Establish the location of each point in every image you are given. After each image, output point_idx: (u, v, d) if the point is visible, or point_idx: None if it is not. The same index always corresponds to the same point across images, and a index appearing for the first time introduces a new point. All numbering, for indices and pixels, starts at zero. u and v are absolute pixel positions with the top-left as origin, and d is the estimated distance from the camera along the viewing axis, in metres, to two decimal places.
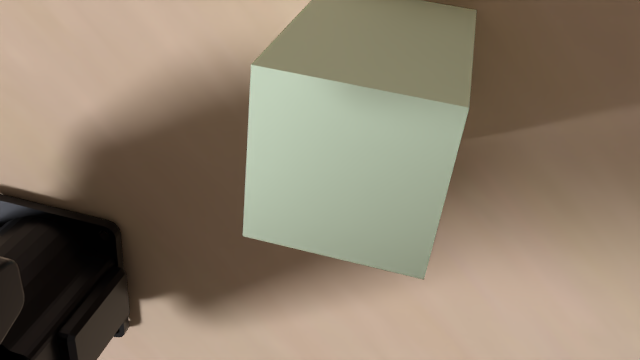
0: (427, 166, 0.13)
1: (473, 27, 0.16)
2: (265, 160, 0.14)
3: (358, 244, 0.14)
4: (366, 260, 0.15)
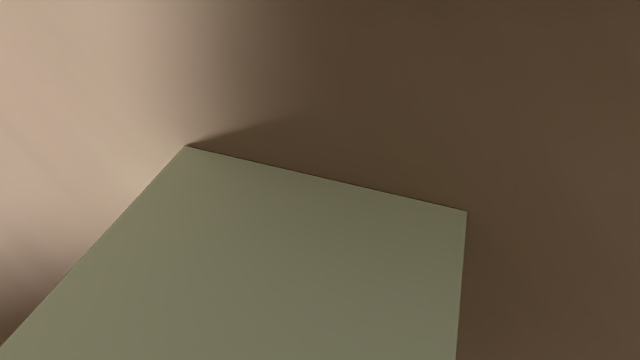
0: None
1: (457, 288, 0.08)
2: None
3: None
4: None
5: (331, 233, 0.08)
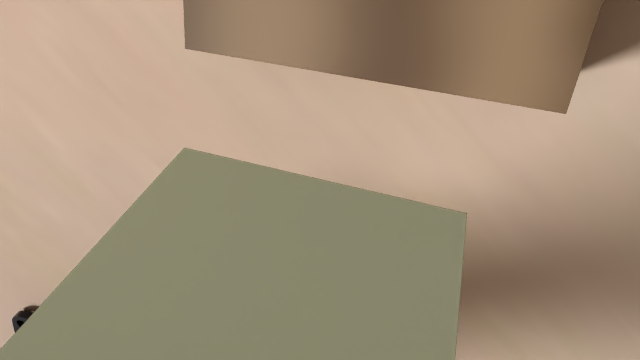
0: None
1: (456, 290, 0.08)
2: None
3: None
4: None
5: (331, 235, 0.08)
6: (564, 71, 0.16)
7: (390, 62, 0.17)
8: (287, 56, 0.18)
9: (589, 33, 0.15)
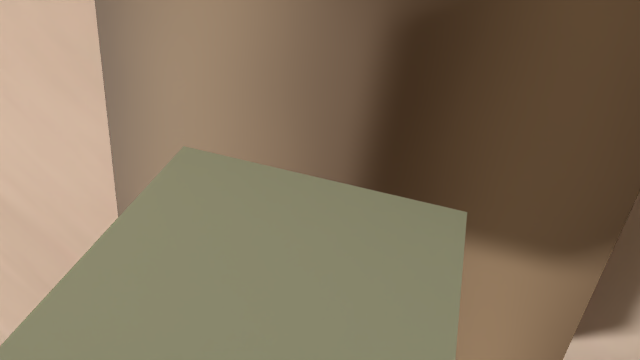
0: None
1: (457, 289, 0.08)
2: None
3: None
4: None
5: (330, 234, 0.08)
6: None
7: None
8: None
9: None
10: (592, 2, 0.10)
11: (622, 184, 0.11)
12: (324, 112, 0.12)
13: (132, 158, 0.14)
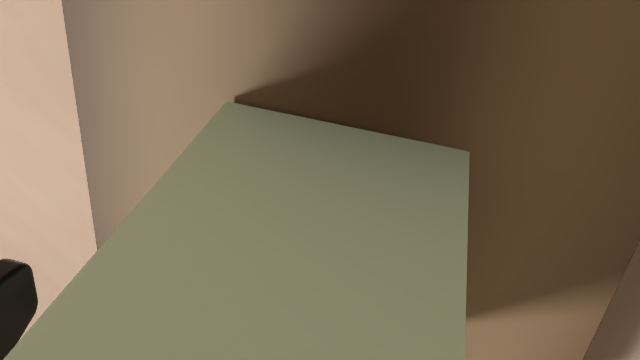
0: None
1: (465, 204, 0.09)
2: None
3: None
4: None
5: (358, 165, 0.10)
6: None
7: None
8: None
9: None
10: (597, 22, 0.09)
11: (629, 215, 0.11)
12: None
13: (108, 182, 0.13)
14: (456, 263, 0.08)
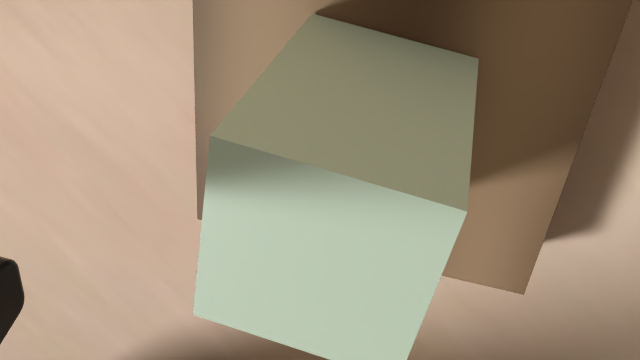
0: (412, 268, 0.11)
1: (474, 84, 0.14)
2: (222, 240, 0.12)
3: (325, 338, 0.12)
4: (333, 354, 0.13)
5: (405, 58, 0.15)
6: (521, 264, 0.19)
7: None
8: None
9: (541, 239, 0.18)
10: None
11: (585, 89, 0.16)
12: None
13: (210, 84, 0.18)
14: (468, 111, 0.13)
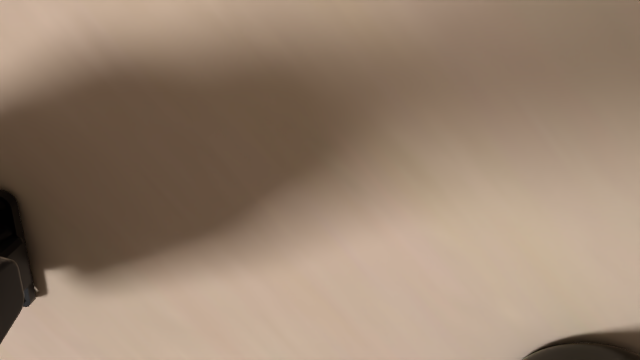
0: None
1: None
2: None
3: None
4: None
5: None
6: None
7: None
8: None
9: None
10: None
11: None
12: None
13: None
14: None
